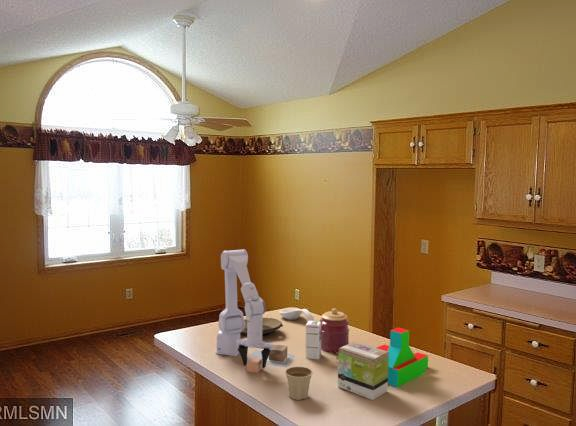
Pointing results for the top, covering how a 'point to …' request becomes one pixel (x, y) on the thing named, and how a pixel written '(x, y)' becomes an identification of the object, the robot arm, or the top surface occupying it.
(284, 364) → the mat
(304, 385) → the flower pot
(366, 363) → the tea box
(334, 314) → the canister
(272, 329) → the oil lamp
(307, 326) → the syrup box
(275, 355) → the walnut block
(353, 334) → the top surface
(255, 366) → the terracotta block
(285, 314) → the spoon rest
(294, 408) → the top surface
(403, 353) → the building blocks toy
